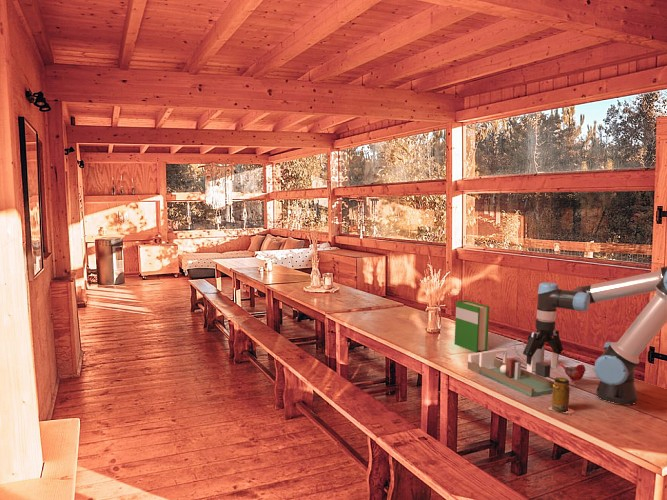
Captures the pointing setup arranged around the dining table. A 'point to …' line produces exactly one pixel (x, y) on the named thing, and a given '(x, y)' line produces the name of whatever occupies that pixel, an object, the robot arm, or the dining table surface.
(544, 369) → the foosball rod
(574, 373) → the decorative bird figurine
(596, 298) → the robot arm
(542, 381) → the pitch
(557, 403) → the condiment
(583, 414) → the dining table surface
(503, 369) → the ball
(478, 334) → the hardback book
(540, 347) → the glass holder
